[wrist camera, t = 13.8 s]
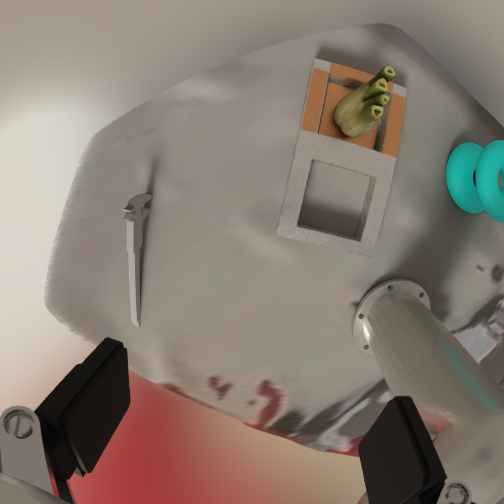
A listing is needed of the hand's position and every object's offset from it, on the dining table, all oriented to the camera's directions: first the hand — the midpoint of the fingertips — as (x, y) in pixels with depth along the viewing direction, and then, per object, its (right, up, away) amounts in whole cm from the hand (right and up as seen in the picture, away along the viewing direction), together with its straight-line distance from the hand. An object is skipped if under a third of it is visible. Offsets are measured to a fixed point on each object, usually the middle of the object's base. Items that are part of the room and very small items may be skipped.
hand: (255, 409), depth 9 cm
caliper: (-16, +3, +30) cm, 34 cm away
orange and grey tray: (+11, +17, +24) cm, 31 cm away
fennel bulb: (+12, +22, +22) cm, 34 cm away
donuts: (+31, +16, +23) cm, 41 cm away
